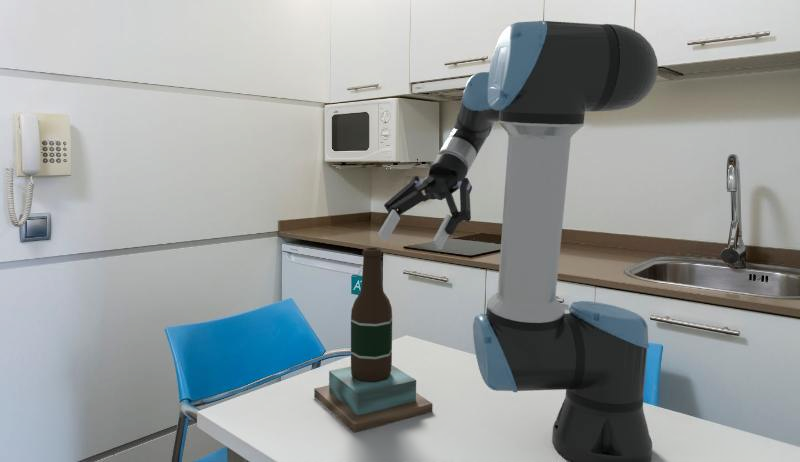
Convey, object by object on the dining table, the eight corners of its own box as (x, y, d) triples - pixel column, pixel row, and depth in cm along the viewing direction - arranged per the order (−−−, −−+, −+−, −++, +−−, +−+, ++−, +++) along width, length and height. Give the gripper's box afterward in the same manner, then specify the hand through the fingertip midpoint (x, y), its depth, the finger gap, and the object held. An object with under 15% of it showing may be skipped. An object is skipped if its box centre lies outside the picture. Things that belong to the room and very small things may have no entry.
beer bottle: (399, 372, 108) (401, 247, 105) (377, 386, 101) (378, 253, 98) (366, 364, 112) (366, 244, 109) (342, 377, 105) (342, 249, 102)
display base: (432, 411, 104) (432, 382, 103) (354, 432, 96) (354, 401, 95) (385, 379, 119) (386, 354, 118) (314, 395, 110) (314, 368, 109)
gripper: (510, 178, 116) (469, 260, 106) (412, 174, 131) (369, 246, 121) (498, 151, 111) (455, 235, 101) (398, 151, 126) (352, 224, 117)
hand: (408, 241), depth 111 cm, fingers open, 13 cm apart
